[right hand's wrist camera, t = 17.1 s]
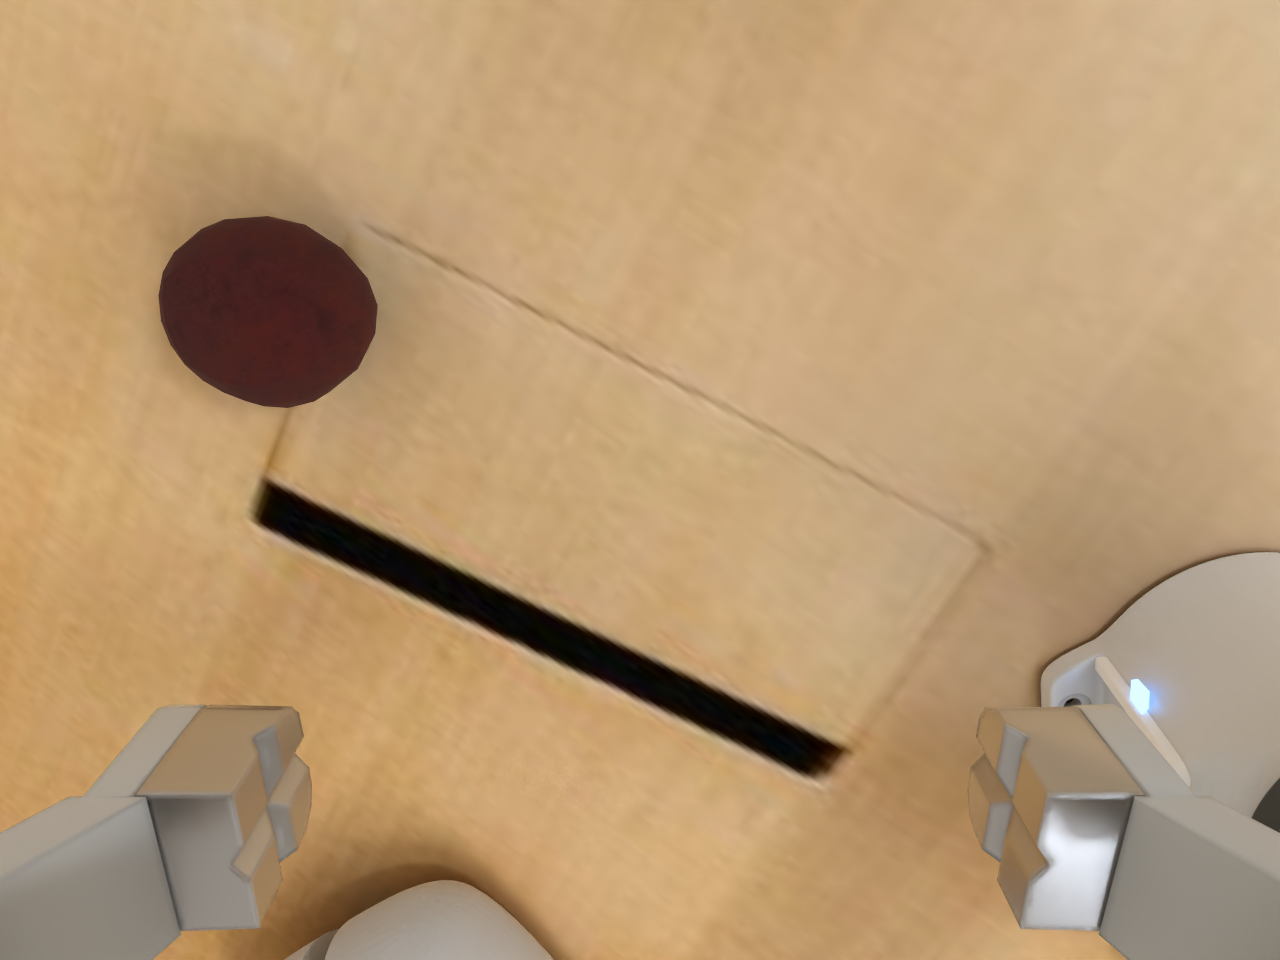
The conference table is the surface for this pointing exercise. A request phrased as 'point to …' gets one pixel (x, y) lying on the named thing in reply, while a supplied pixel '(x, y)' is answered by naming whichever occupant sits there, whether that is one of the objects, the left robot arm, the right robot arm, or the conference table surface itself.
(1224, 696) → the right robot arm
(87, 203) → the conference table surface
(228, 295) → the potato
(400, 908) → the white rounded device
